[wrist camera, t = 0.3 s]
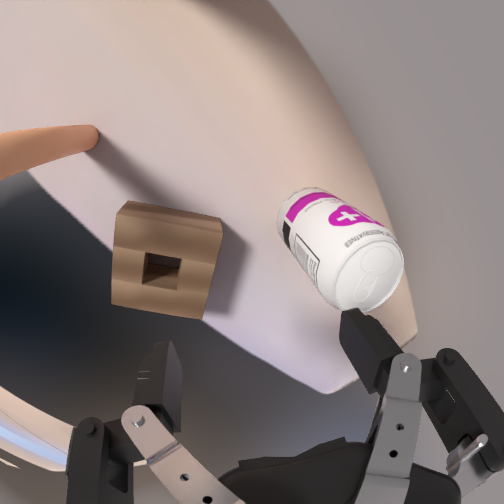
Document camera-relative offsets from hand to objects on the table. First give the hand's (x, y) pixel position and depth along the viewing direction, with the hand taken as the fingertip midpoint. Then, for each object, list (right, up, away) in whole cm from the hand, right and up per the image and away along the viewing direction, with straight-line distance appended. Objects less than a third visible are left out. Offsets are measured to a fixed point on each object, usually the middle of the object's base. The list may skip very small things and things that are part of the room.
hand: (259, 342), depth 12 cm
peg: (-19, +17, +12) cm, 28 cm away
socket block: (-11, +4, +20) cm, 23 cm away
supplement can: (+6, +8, +22) cm, 24 cm away
